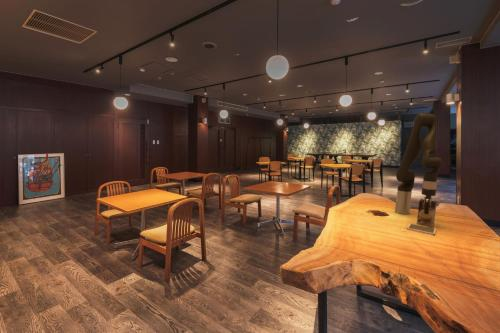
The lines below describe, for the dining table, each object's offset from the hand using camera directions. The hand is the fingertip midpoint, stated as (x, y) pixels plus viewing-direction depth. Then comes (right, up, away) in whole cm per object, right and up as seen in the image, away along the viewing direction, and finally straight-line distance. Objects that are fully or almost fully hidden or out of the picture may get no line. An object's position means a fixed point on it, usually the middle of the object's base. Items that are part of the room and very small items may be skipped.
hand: (426, 212), depth 162 cm
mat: (-9, -9, -8) cm, 15 cm away
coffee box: (0, -8, +1) cm, 9 cm away
